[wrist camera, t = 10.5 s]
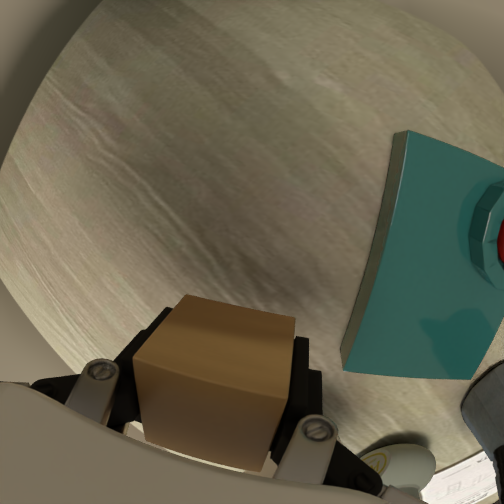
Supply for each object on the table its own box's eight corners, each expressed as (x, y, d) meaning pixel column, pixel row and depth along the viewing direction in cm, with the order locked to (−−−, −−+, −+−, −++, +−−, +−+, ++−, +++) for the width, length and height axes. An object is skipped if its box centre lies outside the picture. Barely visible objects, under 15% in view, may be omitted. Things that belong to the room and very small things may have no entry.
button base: (394, 133, 16) (419, 126, 12) (524, 185, 15) (560, 193, 10) (339, 349, 21) (344, 388, 17) (463, 361, 20) (482, 393, 16)
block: (185, 292, 12) (131, 356, 8) (296, 316, 11) (288, 398, 7) (183, 373, 13) (144, 441, 9) (274, 395, 13) (260, 473, 8)
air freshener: (374, 482, 27) (377, 543, 17) (328, 470, 27) (326, 540, 17) (440, 440, 23) (459, 506, 14) (399, 423, 23) (416, 504, 13)
